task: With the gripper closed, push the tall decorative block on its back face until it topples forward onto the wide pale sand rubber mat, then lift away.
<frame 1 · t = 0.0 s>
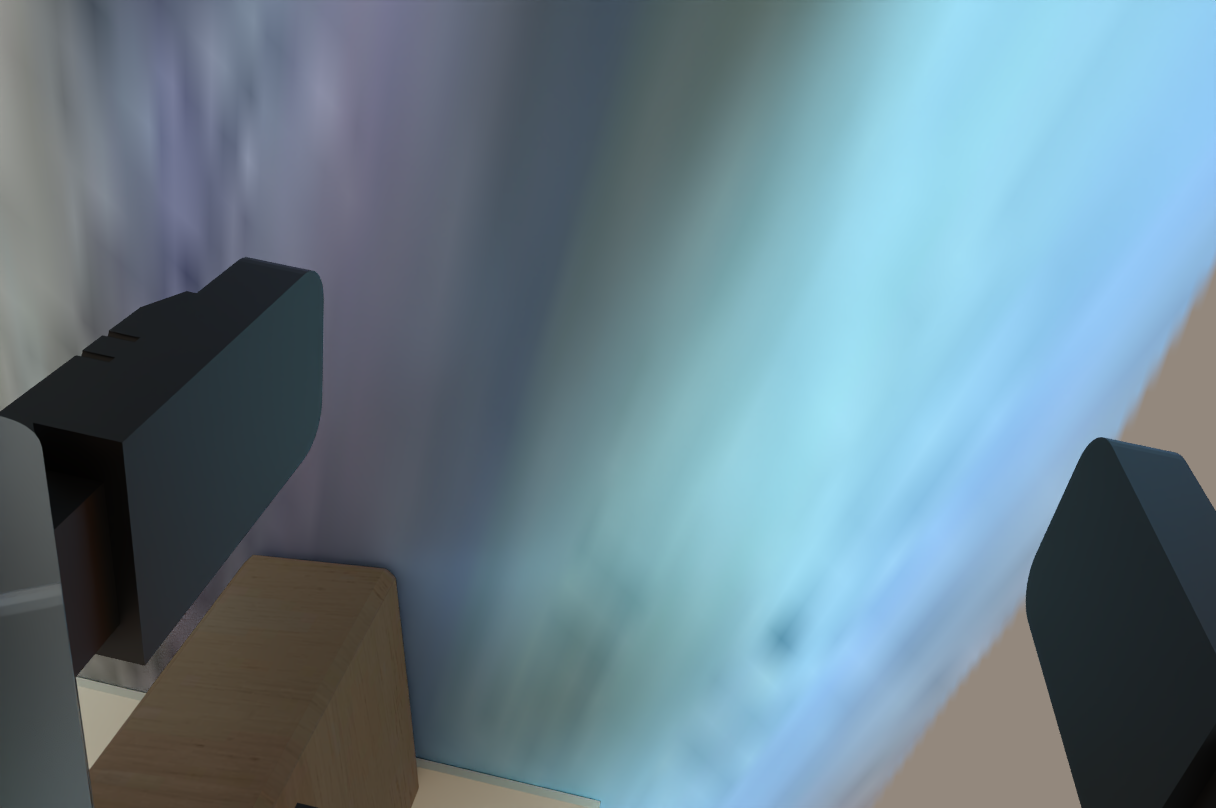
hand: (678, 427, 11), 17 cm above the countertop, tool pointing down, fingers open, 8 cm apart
decorative block: (342, 670, 39), on the countertop
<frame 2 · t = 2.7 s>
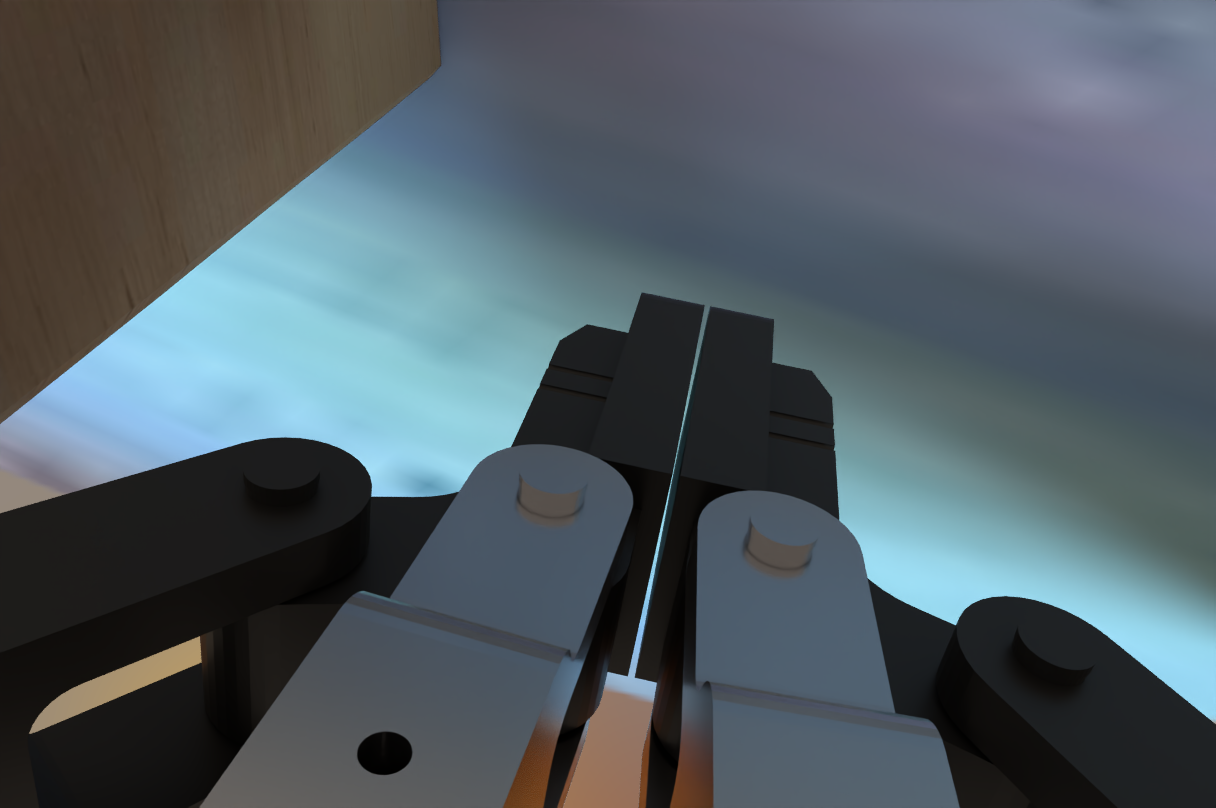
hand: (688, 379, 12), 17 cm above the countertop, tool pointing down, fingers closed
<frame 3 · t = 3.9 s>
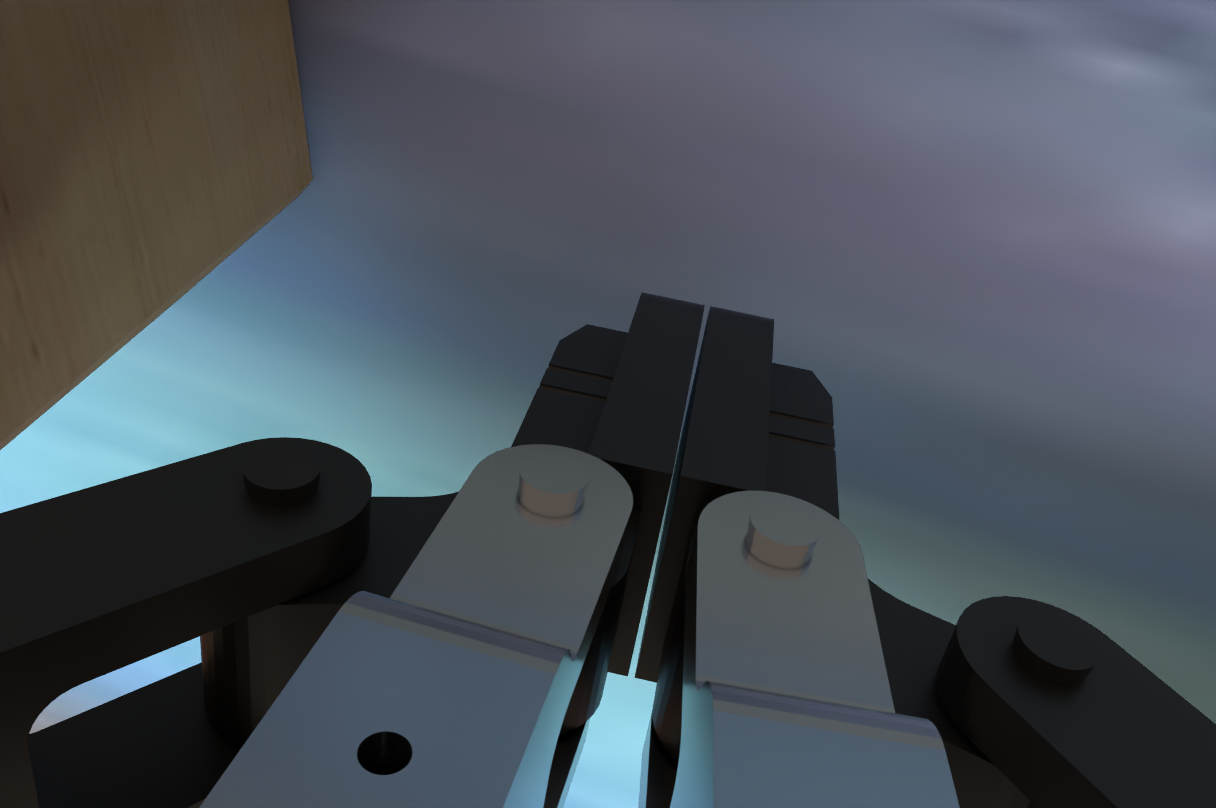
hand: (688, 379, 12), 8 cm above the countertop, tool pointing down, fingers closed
decorative block: (25, 35, 20), on the countertop, touching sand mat
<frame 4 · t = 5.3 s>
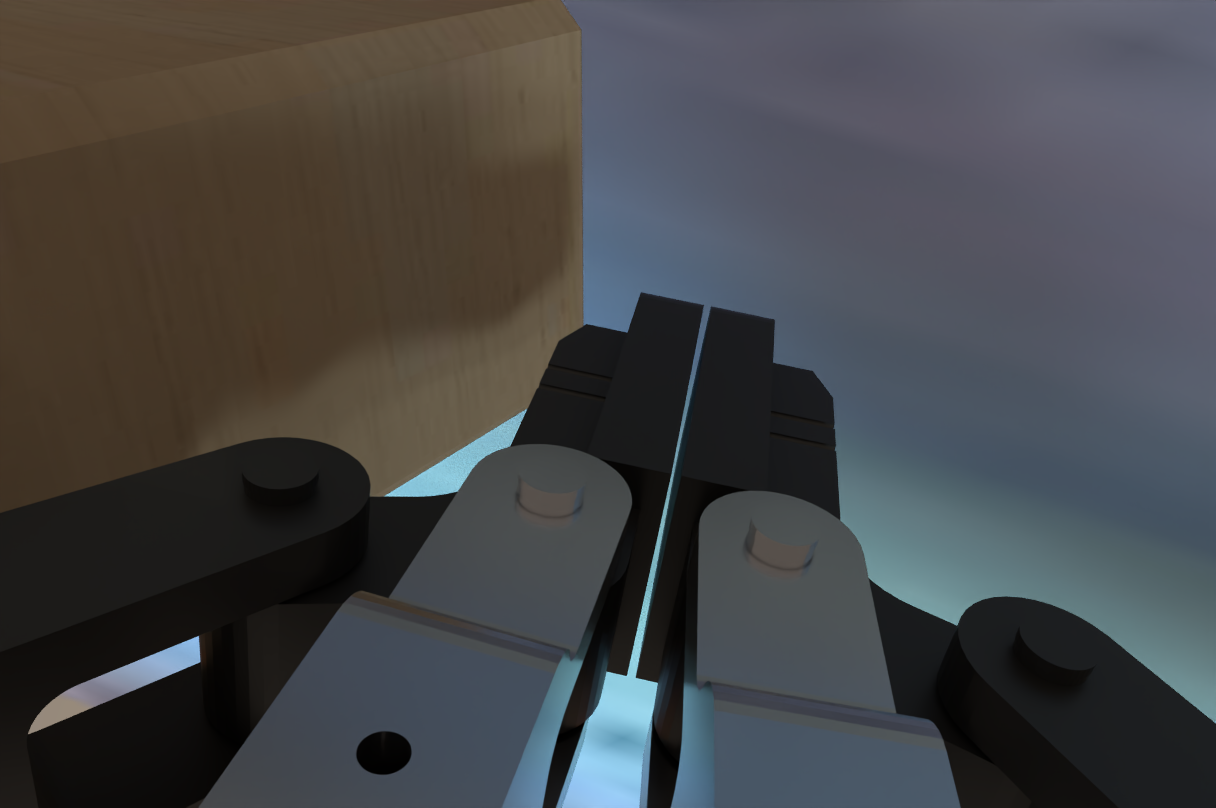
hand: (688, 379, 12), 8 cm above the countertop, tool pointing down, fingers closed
decorative block: (341, 139, 17), point 3 cm above the countertop, touching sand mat
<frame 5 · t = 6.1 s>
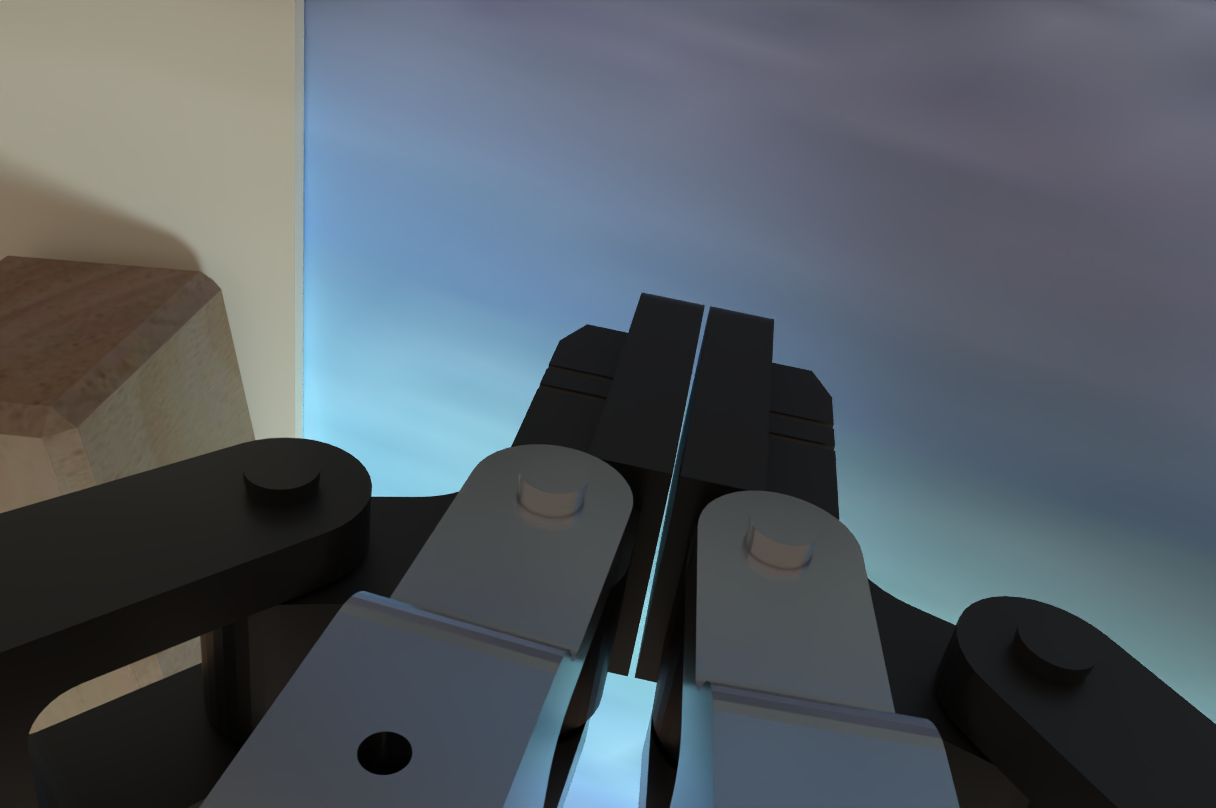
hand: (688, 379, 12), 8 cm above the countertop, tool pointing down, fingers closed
decorative block: (227, 571, 21), point 3 cm above the countertop, touching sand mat
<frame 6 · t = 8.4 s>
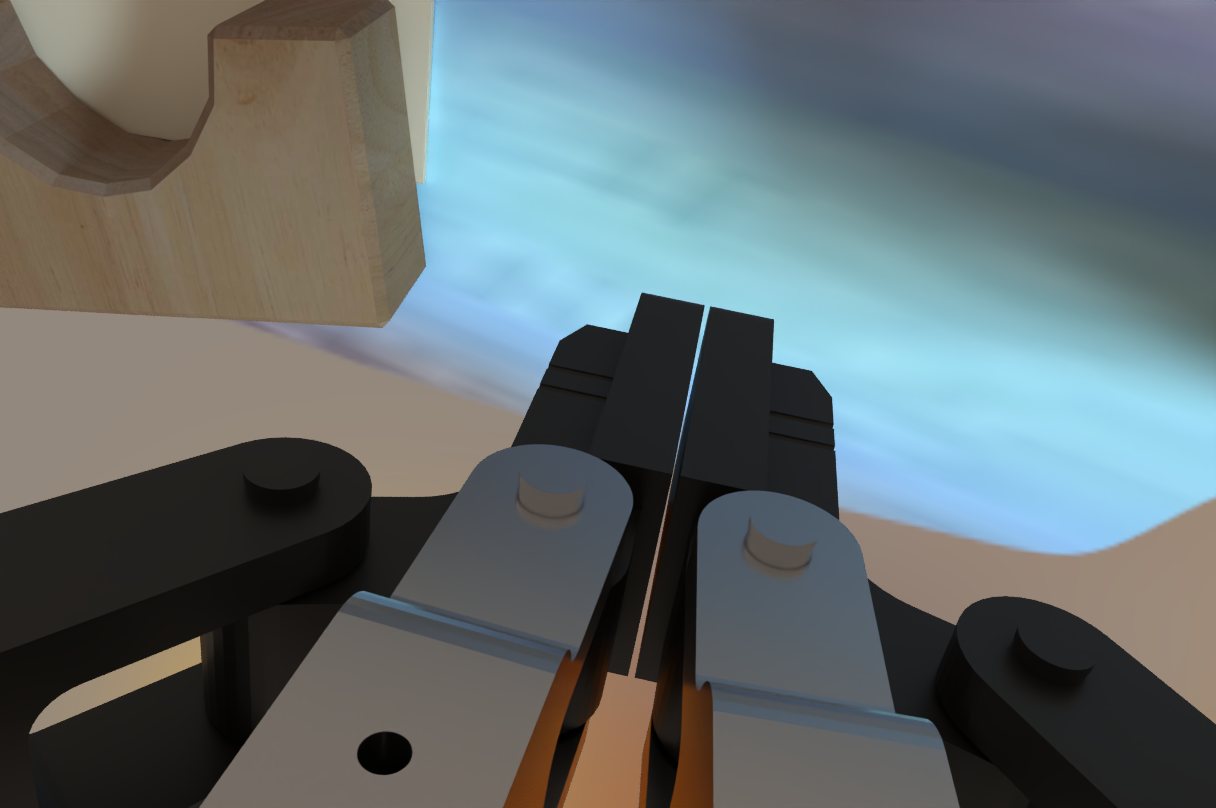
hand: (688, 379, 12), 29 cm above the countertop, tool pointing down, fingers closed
decorative block: (397, 166, 39), point 3 cm above the countertop, touching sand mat
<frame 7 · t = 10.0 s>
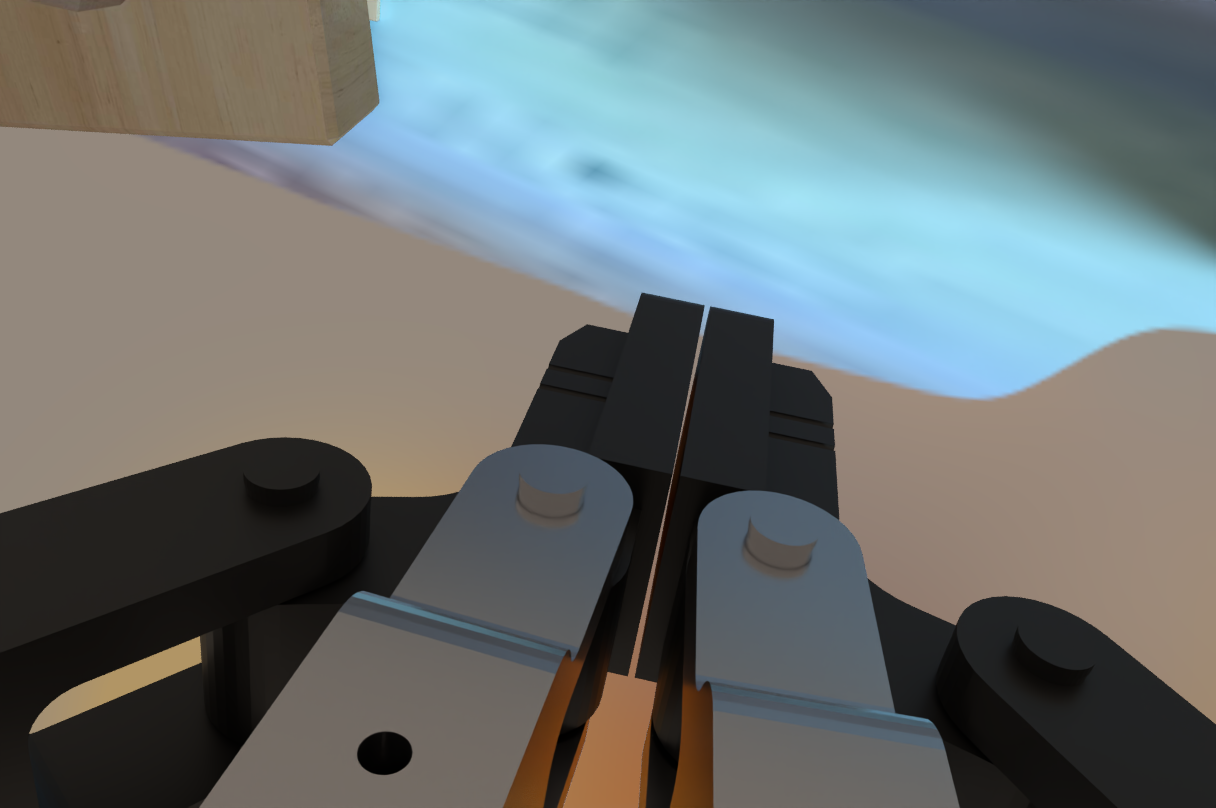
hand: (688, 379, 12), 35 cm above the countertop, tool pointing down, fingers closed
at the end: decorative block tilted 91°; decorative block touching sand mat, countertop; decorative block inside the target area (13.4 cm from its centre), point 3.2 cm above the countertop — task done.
